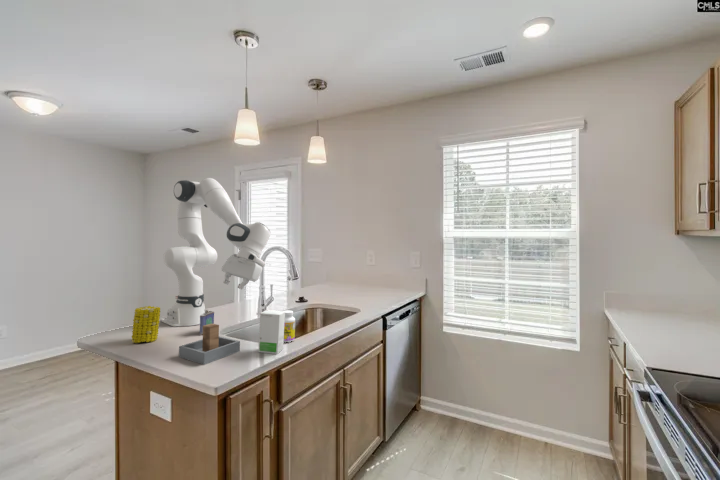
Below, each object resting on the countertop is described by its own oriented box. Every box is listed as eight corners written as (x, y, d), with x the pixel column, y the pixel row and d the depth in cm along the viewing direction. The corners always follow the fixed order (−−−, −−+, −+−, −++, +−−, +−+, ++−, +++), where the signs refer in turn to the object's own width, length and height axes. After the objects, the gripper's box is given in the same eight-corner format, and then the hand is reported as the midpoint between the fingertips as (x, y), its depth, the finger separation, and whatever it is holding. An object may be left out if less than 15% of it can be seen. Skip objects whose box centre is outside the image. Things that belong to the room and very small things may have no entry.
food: (126, 346, 139) (149, 340, 149) (147, 343, 135) (169, 338, 145) (123, 309, 141) (145, 306, 150) (143, 305, 137) (165, 302, 147)
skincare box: (257, 352, 132) (258, 313, 132) (264, 347, 138) (265, 309, 138) (278, 354, 131) (279, 314, 131) (284, 348, 137) (285, 310, 137)
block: (202, 351, 128) (202, 325, 128) (211, 348, 132) (211, 323, 132) (209, 353, 126) (210, 327, 126) (218, 350, 130) (218, 324, 130)
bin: (178, 357, 125) (179, 346, 125) (215, 345, 139) (215, 335, 139) (204, 364, 119) (204, 353, 119) (239, 351, 133) (239, 341, 133)
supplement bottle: (276, 342, 145) (277, 312, 145) (282, 338, 151) (283, 309, 151) (291, 343, 144) (292, 313, 144) (296, 339, 150) (297, 310, 150)
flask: (203, 335, 152) (203, 311, 152) (197, 335, 152) (197, 311, 152) (215, 329, 161) (215, 307, 161) (209, 329, 161) (209, 307, 161)
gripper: (227, 250, 150) (211, 278, 146) (258, 258, 140) (242, 288, 135) (237, 256, 155) (222, 283, 151) (268, 264, 145) (253, 294, 140)
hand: (232, 286), depth 143 cm, fingers open, 8 cm apart
